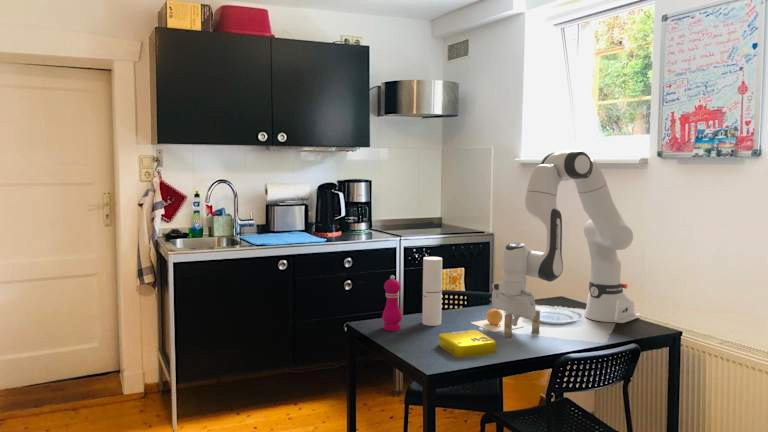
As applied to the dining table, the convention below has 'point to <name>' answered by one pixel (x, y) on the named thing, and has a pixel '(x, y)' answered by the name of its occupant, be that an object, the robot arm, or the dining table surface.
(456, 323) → the dining table surface
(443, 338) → the element tile
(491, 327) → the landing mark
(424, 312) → the cylindrical container
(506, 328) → the left post
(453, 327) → the dining table surface
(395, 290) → the pepper mill
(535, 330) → the right post
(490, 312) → the ball
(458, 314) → the dining table surface
